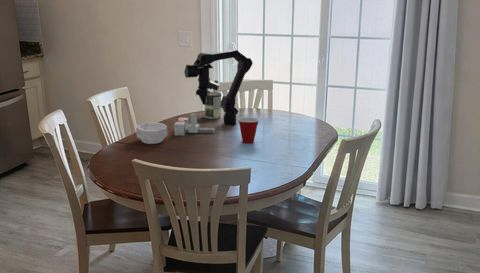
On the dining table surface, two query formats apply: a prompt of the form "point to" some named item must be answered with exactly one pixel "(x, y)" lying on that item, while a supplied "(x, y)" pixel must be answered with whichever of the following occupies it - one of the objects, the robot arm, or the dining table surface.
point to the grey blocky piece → (181, 126)
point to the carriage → (193, 124)
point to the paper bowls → (151, 132)
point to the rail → (205, 130)
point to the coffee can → (213, 105)
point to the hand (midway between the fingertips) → (204, 104)
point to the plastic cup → (248, 129)
